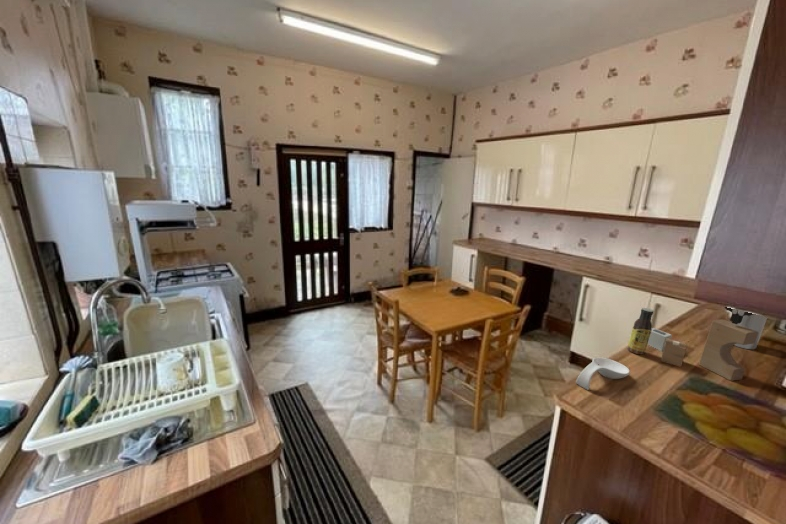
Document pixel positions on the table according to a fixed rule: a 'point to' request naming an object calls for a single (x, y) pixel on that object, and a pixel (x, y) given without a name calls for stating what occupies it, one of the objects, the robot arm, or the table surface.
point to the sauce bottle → (641, 332)
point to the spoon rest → (601, 371)
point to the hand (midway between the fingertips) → (734, 323)
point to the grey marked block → (658, 339)
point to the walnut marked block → (673, 352)
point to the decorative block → (725, 348)
